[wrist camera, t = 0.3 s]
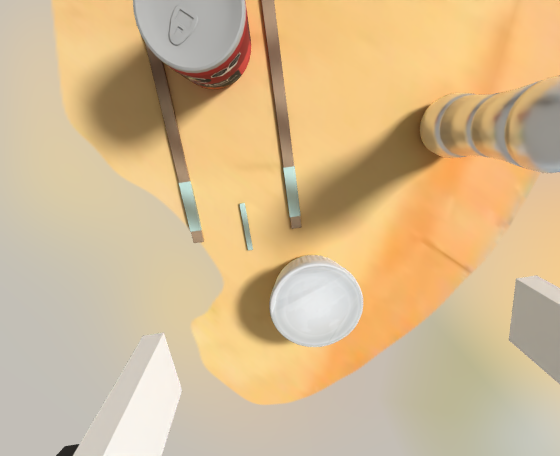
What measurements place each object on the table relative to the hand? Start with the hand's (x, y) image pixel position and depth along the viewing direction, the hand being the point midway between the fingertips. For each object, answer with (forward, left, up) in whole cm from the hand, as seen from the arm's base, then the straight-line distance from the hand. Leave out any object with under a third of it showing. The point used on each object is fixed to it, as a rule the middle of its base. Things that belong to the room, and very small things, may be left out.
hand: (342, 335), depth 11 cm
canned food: (-16, -6, -27) cm, 32 cm away
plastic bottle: (-5, +18, -26) cm, 33 cm away
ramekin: (+13, +1, -27) cm, 29 cm away
